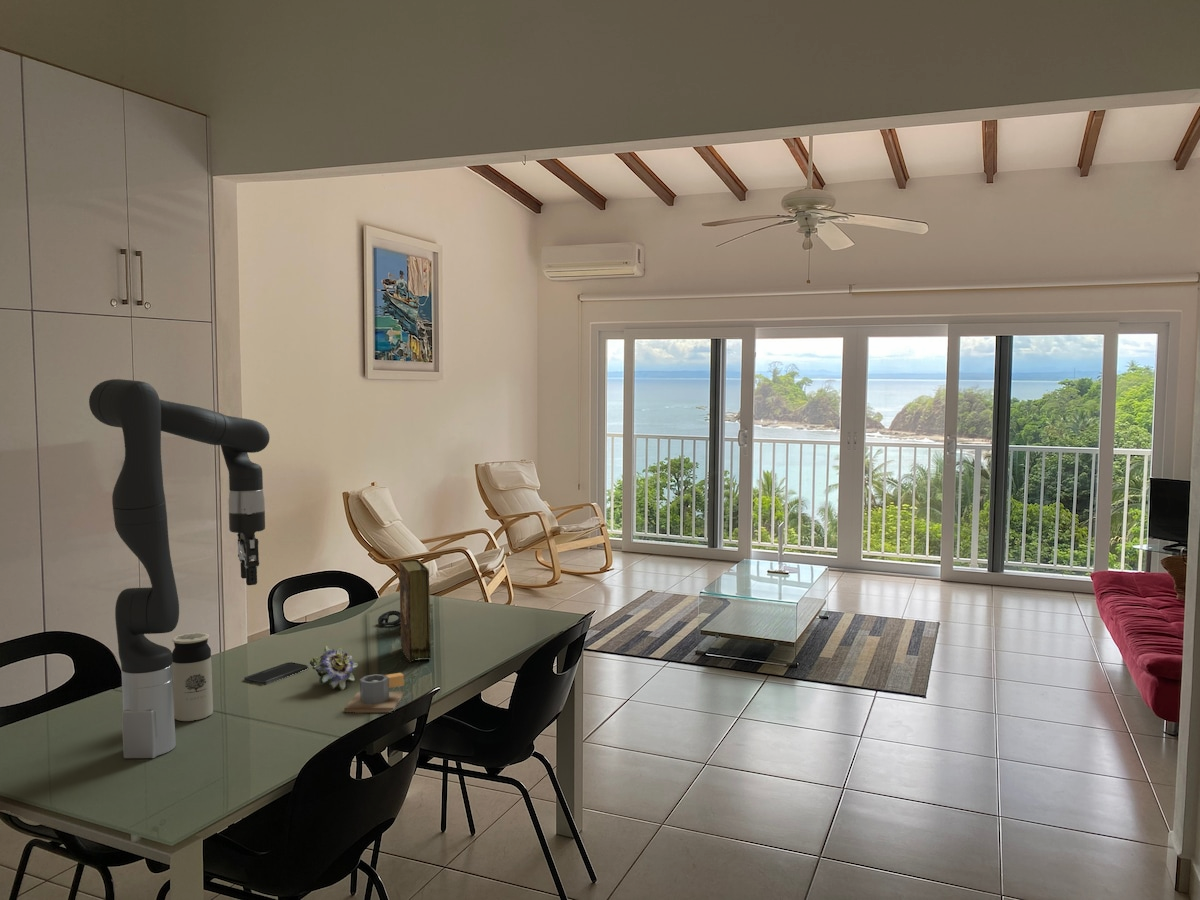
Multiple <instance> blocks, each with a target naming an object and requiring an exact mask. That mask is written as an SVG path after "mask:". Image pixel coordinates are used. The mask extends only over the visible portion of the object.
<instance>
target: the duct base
mask: <svg viewBox="0 0 1200 900" xmlns="http://www.w3.org/2000/svg"><path fill="white" fill-rule="evenodd" d="M375 681H378V680H373V681H371V682H375ZM403 695H404V696H405V691H389V699H388V700H387V701H385V702H384V703H379V704H363V703H362V701H361V700H360V691H356V694H355V695H354V696H353V697H352V698H351V700H350V701H349V702H348V703H347V704H346V706H344V713H345V712H350V714H351V712H353V713H354V712H355V713H390V712H389V711H391V710H393V709H395V708H396V709H397V707H398V706H399V704H400V703H399V701H400V700H401V698H402V696H403ZM402 699H403V698H402ZM401 701H402V700H401ZM401 701H400V702H401ZM398 703H399V704H398ZM397 705H398V706H397ZM396 709H395V710H396Z"/></svg>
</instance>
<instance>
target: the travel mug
mask: <svg viewBox="0 0 1200 900" xmlns="http://www.w3.org/2000/svg"><path fill="white" fill-rule="evenodd" d="M209 638H210V635H209V634H208V633H206V632H191V633H190V632H189V633H183V634H179V635H176V636H174V637H173V638H172V642H173V646H174V648H173V650H172V651H171V652H172V665H173V692H174V718H175V720H177V721H179V722H195V721H194V720H196V721H199V720H200V721H201V720H204V719H205V718H207V717H209V716H211V715H212V714H214V704H213V703H214V702H213V701H214V699H213V677H212V676H213V675H212V674H213V673H212V670H213V669H212V650H211V647H210V646H209V644H208V640H209Z"/></svg>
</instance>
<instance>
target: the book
mask: <svg viewBox="0 0 1200 900" xmlns="http://www.w3.org/2000/svg"><path fill="white" fill-rule="evenodd" d="M398 564H399V568H398V569H399V581H400V583H399V606H400V607H399V608H400V609H399V612H400V618H401V622H400V626H401V629H400V648H401V647H402V649H403V651H404V653H405V654H406V656H407V657H408V659H409V661H412V660H415V659H418V658H431V655H432V654H431V653H432V652H431V650H432V649H431V613H430V612H431V609H430V608H431V607H430V606H431V605H430V604H431V603H430V570H429V568H428V567H427V566H426V565H425V564H424V563H423V562H422V561H421V560H420V559H402V560H399V561H398ZM402 649H401V650H402ZM403 651H402V652H403ZM404 653H403V654H404ZM405 654H404V655H405ZM406 656H405V657H406ZM408 659H407V660H408ZM409 661H408V662H409Z"/></svg>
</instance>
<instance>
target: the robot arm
mask: <svg viewBox="0 0 1200 900" xmlns="http://www.w3.org/2000/svg"><path fill="white" fill-rule="evenodd" d="M88 400H89V401H88V405H89V410H90V411H91V413H92V415H93V416H94V418H95V419H97V421H99V422H101V423H102V424H104V425H107V426H109V427H114V428H121V429H122V434H123V441H124V460H123V465H122V467H121V469H120V472H119V475H118V477H117V479H116V482H115V485H114V487H113V491H112V494H111V499H112V501H111V502H112V512H113V513H112V514H113V522H114V527H115V530H116V532H117V534H118V536H119V537H120V539H121V540H122V542H123V543H124V544H125V545H126V546H127V548H128V549H129V550H130V551H131V552H132V553H133V554H134V555H135V557H137V559H138V560H139V561H140V563H141V564H142V565H143V567H144V568H145V571H146V572H147V575H148V578H149V582H150V585H151V586H149V587H129V588H125V589H123V590H121V592H120V593H119V594H118V596H117V598H116V602H115V612H114V619H115V628H116V635H117V636H116V637H117V648H118V651H117V652H118V657H119V660H120V667H121V668H120V669H121V690H122V691H121V693H122V713H121V722H122V723H121V727H122V748H123V749H122V750H123V752H122V753H123V759H154V758H156V757H158V756H161V755H165V754H166V753H168V752H171V751H172V750H173V749H175V747H176V744H177V743H176V727H175V726H176V723H175V722H176V721H175V720H176V719H175V718H174V692H173V665H172V652H173V651H172V650H171V649H170V648H169V647H166V646H164V645H161V644H157V643H155V642H153V641H151V640H150V639H148V638H147V637H146V636H145V635H148V634H149V635H152V634H153V635H156V634H167V633H171V632H173V631H174V630H175V629H176V627H177V626H178V623H179V617H180V602H179V594H178V589H177V583H176V579H175V574H174V568H173V563H172V557H171V550H170V549H171V548H170V542H169V541H170V539H169V528H168V512H167V503H166V495H165V490H164V489H165V487H164V478H163V465H162V464H163V463H162V451H161V450H162V449H161V447H162V445H161V444H162V443H161V442H162V440H161V439H162V437H161V436H162V432H164V433H168V434H171V435H174V436H178V437H181V438H184V439H187V440H188V439H189V440H193V441H196V442H200V443H202V444H207V445H210V446H211V445H212V446H220V448H221V452H222V456H223V458H224V463H225V465H226V467H227V471H228V482H229V483H228V486H229V491H228V525H229V526H228V530H229V532H231V533H234V534H236V533H237V539H236V540H237V541H236V543H237V553H238V554H237V557H238V561H239V562H240V577H241V579H245V584H246V585H247V586H255V585H257V584H258V567H260V560H259V559H260V558H259V556H260V555H259V540H258V538H257V537H256V535H255V534H256V533H257V532H258V533H259V532H262V531H264V530H265V529H266V509H265V508H266V506H265V505H266V504H265V495H264V485H263V484H264V483H263V478H264V477H263V468H262V466H261V465H260V464H258V463H255V462H252V461H251V459H250V457H249V455H248V453H251V454H252V453H253V454H255V453H259V452H261V451H263V450H265V448H267V446H268V445H269V443H270V432H269V430H268V429H267V427H266V426H265V425H264V424H263V423H261V422H259V421H257V420H254V419H248V418H243V417H236V416H230V415H227V414H224V413H221V412H217V411H214V410H211V409H206V408H204V407H203V408H202V407H200V406H195V405H189V404H185V403H179V402H178V403H177V402H173V401H167V400H164V399H160V397H159V394H158V392H157V390H156V389H155V387H153V386H152V385H151V384H150V383H147V382H145V381H140V380H134V379H133V380H132V379H121V378H117V379H115V378H112V379H107V380H104V381H101V382H99V384H96V385H95V387H93V389H92V391H91V392H90V395H89V398H88Z"/></svg>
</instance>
